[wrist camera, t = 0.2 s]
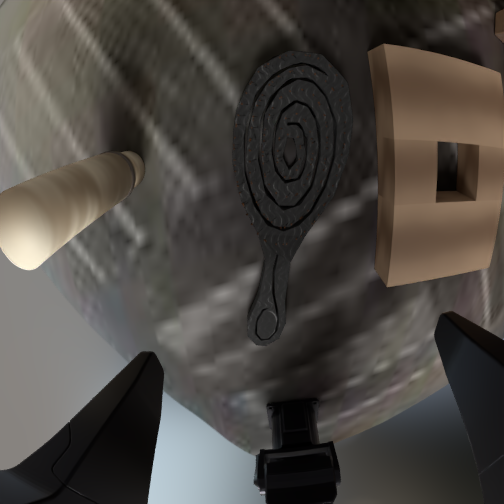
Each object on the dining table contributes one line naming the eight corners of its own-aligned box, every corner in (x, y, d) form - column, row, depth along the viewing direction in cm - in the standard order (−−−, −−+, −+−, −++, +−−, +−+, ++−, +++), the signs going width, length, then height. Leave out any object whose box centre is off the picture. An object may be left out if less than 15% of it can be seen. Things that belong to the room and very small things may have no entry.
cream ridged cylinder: (153, 188, 21) (58, 267, 9) (112, 196, 21) (9, 273, 10) (144, 141, 19) (30, 177, 8) (103, 152, 19) (-16, 199, 8)
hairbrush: (216, 357, 25) (239, 39, 13) (220, 330, 28) (242, 50, 16) (305, 363, 25) (376, 64, 13) (301, 335, 29) (356, 69, 16)
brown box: (472, 253, 23) (488, 267, 20) (374, 268, 23) (387, 287, 21) (479, 73, 15) (500, 73, 12) (367, 51, 16) (383, 43, 13)
